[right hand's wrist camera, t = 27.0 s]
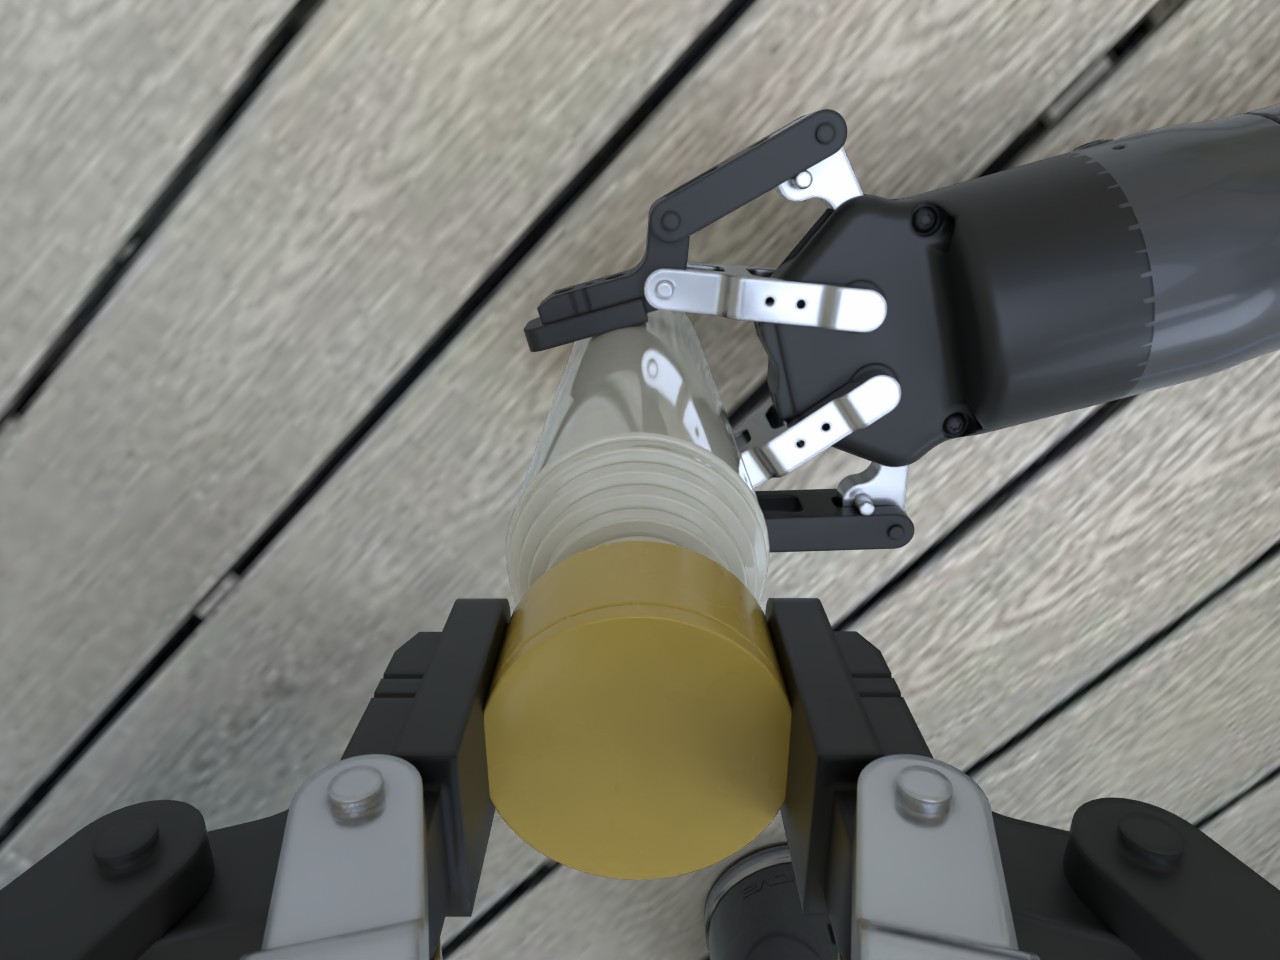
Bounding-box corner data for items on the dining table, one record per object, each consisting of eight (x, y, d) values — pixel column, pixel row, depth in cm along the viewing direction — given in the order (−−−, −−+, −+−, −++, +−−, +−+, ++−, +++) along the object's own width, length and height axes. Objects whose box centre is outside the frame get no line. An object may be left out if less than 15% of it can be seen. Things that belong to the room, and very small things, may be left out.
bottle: (549, 363, 33) (375, 745, 11) (627, 263, 31) (608, 475, 10) (645, 438, 34) (661, 922, 12) (725, 345, 33) (905, 700, 11)
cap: (489, 544, 12) (457, 623, 10) (774, 532, 12) (803, 608, 10) (517, 775, 13) (495, 886, 11) (771, 765, 13) (797, 875, 11)
